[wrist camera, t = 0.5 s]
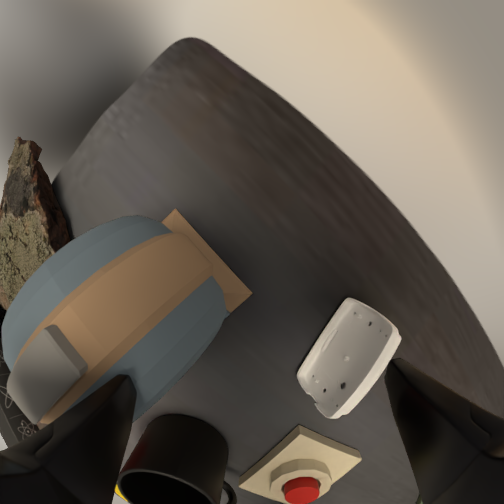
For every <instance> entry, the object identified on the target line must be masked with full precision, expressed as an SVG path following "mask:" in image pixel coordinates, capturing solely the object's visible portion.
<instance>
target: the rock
mask: <svg viewBox="0 0 504 504" xmlns="http://www.w3.org/2000/svg"><path fill="white" fill-rule="evenodd" d="M41 151H42V149H41V148H40V147H39V146H38V145H37V144H36V143H35V142H34V141H26V140H22V139H21V138H20V137H17V139H16V140H15V146H14V150H13V153H12V155H11V157H10V158H9V160H8V165H9V168H8V174H7V180H6V182H5V184H4V190H3V197H2V201H1V205H0V306H1V307H2V308H3V309H4V310H8V308H9V306H10V305H11V303H12V302H13V300H14V299H15V297H16V296H17V294H18V293H19V291H20V290H21V288H22V287H23V285H24V284H25V282H26V281H27V280H28V279H29V278H30V277H31V276H32V275H33V273H34V272H35V271H36V270H37V269H38V268H39V267H40V266H41V265H42V264H43V263H44V262H45V261H46V260H47V259H48V258H50V257H51V256H52V255H53V254H55V253H56V252H57V251H58V250H60V249H61V248H62V247H64V246H65V245H66V244H68V243H69V242H70V238H69V234H68V231H67V226H66V220H65V218H64V216H63V214H62V211H61V209H60V207H59V204H58V202H57V199H56V197H55V194H54V192H53V189H52V186H51V183H50V180H49V177H48V175H47V174H46V172H45V171H44V169H43V167H42V165H41V163H40V162H39V161H38V158H39V155H40V153H41Z"/></svg>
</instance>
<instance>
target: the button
mask: <svg viewBox="0 0 504 504" xmlns="http://www.w3.org/2000/svg"><path fill="white" fill-rule="evenodd" d="M319 494H320V492H319V487H318V482H317V480H316V479H315V478H313V477H297V478H294V479H291V480H288V481H287V482H286V483H285V485H284V496H285V500H286V501H287V502H288V503H291V504H307V503H310V502H312V501H314V500H316V499H317V498H318V496H319Z"/></svg>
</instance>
